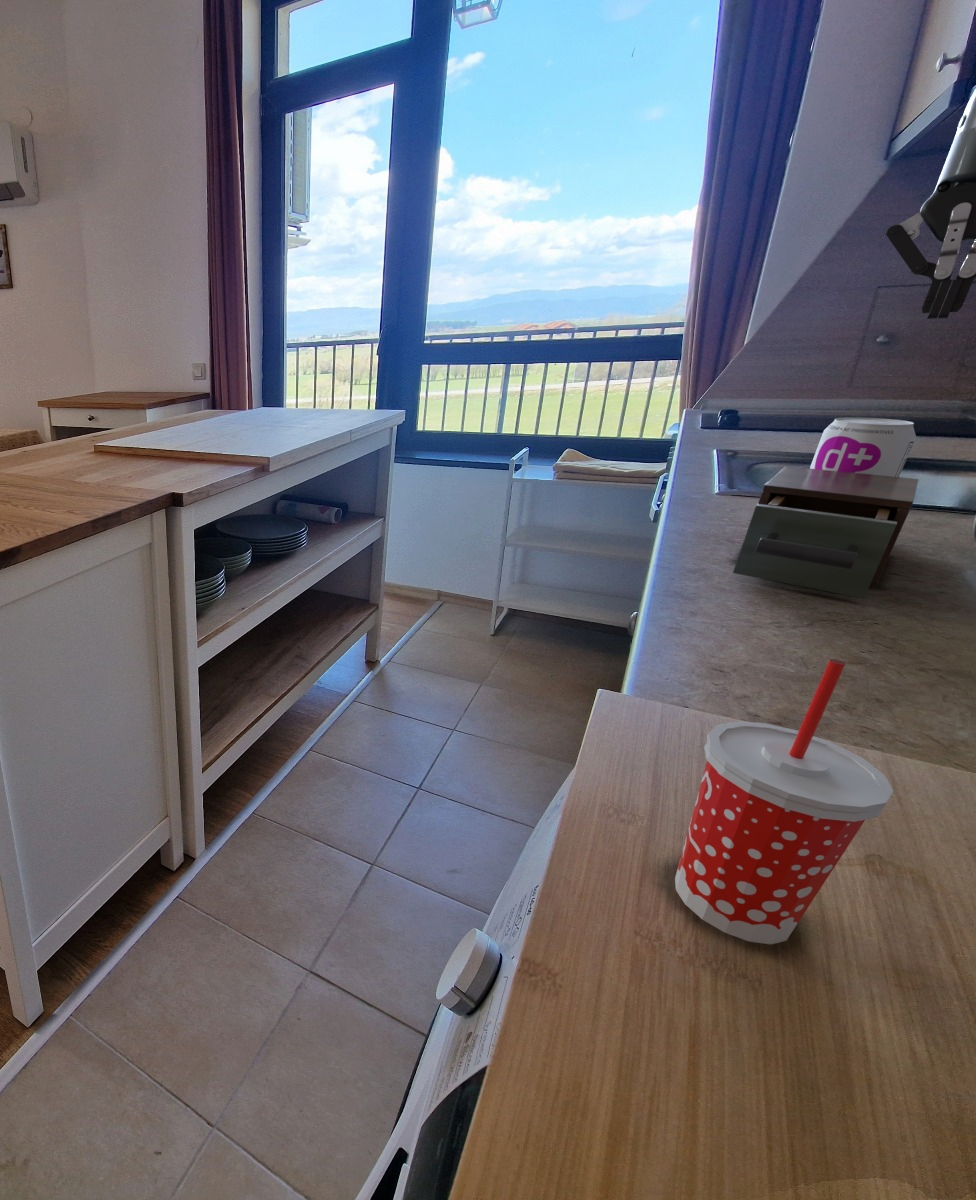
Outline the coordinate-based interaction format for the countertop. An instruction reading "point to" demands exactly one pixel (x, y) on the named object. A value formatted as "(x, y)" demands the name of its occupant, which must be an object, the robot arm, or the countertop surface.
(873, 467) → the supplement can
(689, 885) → the beverage cup
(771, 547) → the drawer
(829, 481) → the cabinet
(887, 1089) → the countertop surface
